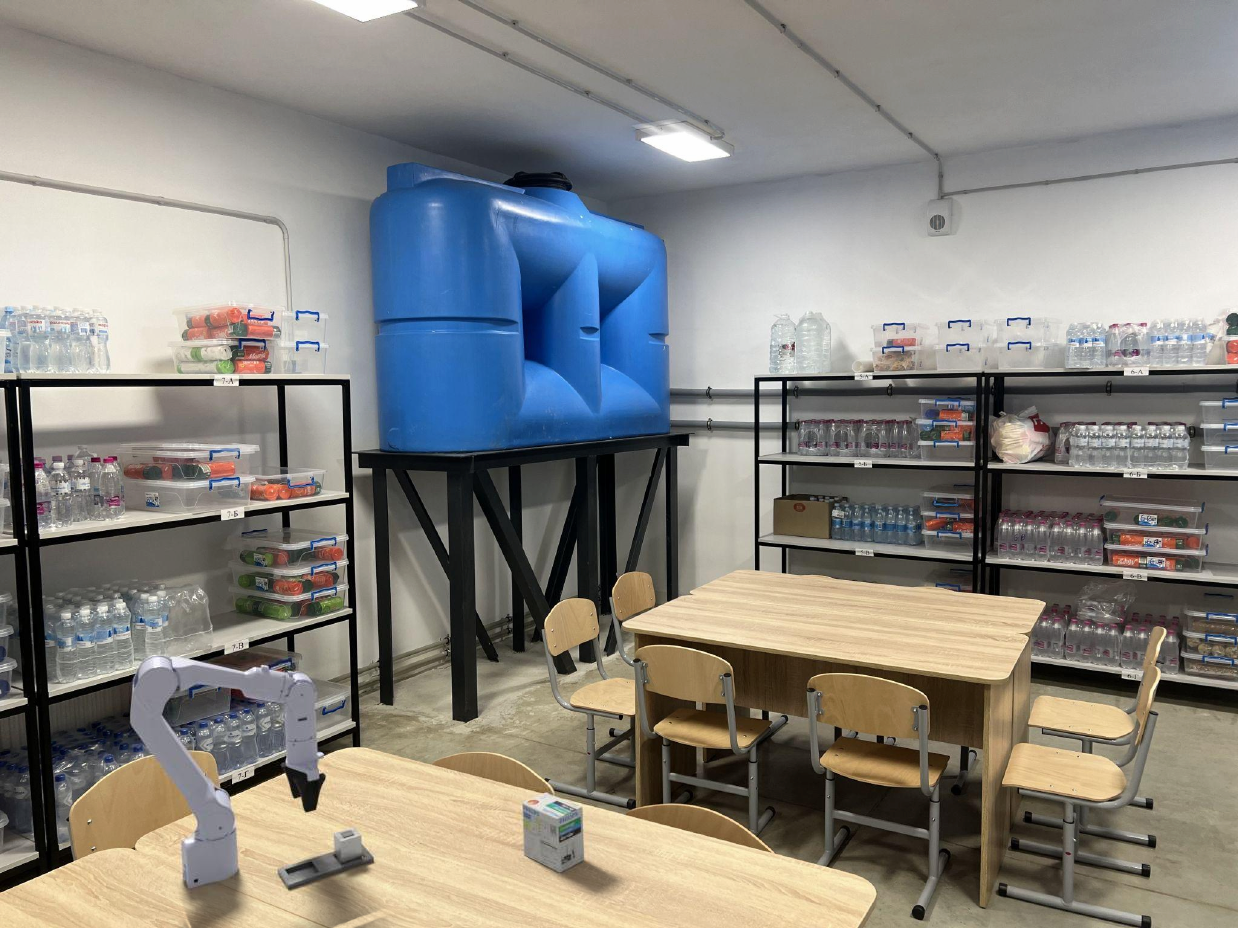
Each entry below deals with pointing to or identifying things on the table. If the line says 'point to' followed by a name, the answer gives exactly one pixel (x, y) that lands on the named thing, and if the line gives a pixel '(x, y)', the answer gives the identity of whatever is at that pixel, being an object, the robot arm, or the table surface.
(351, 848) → the grey square block
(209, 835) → the robot arm
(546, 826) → the light bulb box
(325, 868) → the dark gray slotted base
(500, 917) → the table surface
